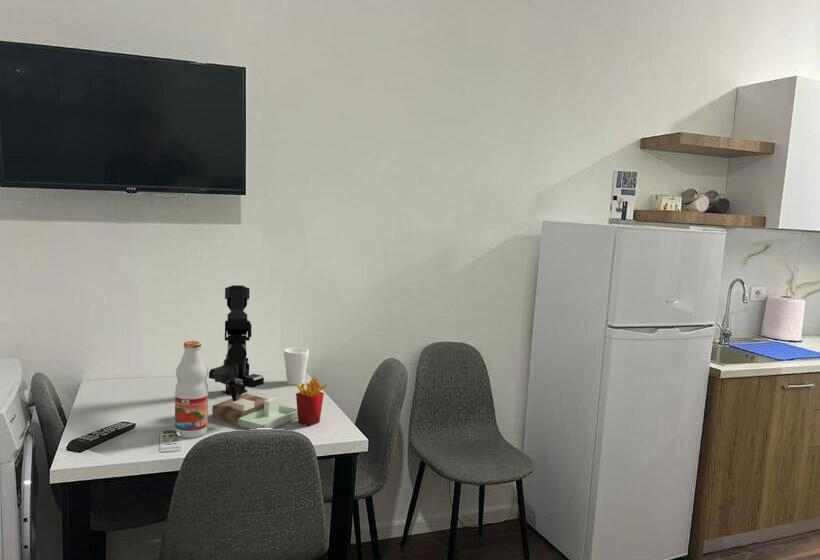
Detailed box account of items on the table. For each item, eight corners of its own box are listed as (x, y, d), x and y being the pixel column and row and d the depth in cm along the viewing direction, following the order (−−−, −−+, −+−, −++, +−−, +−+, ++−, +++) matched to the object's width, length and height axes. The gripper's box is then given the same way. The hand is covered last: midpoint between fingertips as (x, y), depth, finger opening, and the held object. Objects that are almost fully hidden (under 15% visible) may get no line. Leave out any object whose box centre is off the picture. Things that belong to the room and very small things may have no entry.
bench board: (212, 417, 215) (212, 405, 214) (245, 405, 229) (246, 393, 228) (240, 424, 209) (241, 412, 209) (273, 411, 224) (273, 400, 223)
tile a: (264, 400, 217) (269, 401, 216) (274, 397, 221) (278, 398, 220) (263, 415, 218) (268, 416, 217) (273, 411, 222) (278, 412, 221)
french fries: (293, 423, 214) (295, 377, 212) (310, 416, 221) (312, 372, 219) (315, 429, 209) (316, 383, 207) (331, 422, 216) (333, 377, 214)
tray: (237, 426, 208) (237, 418, 208) (276, 410, 225) (276, 403, 225) (264, 433, 203) (264, 425, 203) (301, 416, 220) (301, 409, 220)
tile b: (231, 408, 213) (231, 402, 212) (242, 404, 217) (242, 398, 217) (243, 411, 210) (243, 405, 210) (254, 407, 215) (254, 401, 214)
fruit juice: (213, 429, 204) (214, 340, 201) (198, 440, 195) (199, 347, 191) (184, 426, 206) (185, 338, 202) (168, 436, 196) (169, 344, 193)
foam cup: (305, 387, 254) (306, 353, 252) (281, 385, 254) (282, 352, 252) (309, 380, 263) (310, 348, 262) (286, 379, 263) (287, 347, 262)
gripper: (196, 355, 210) (195, 403, 212) (241, 365, 202) (240, 414, 203) (221, 349, 220) (220, 395, 222) (265, 358, 211) (264, 405, 213)
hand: (235, 402), depth 215 cm, fingers closed
